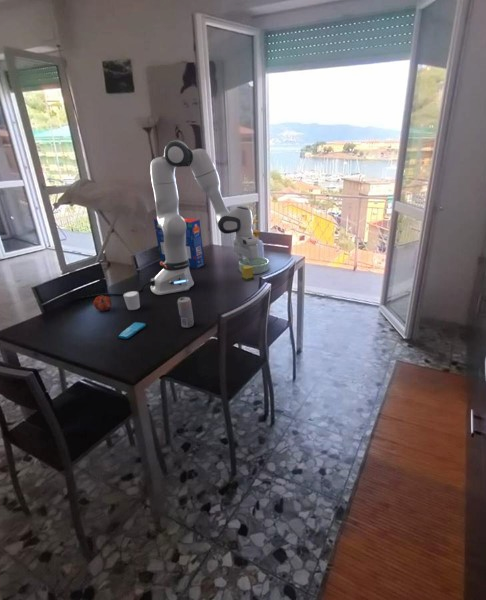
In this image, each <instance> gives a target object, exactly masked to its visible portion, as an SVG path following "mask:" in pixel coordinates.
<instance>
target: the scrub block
mask: <svg viewBox="0 0 486 600" xmlns="http://www.w3.org/2000/svg"><path fill="white" fill-rule="evenodd" d="M241 275H242V276H241V278H242V280H244V281H245V282H248V281H252V280H254V274H253V267H251V266H248V265H247V266H243V267H242V272H241Z"/></svg>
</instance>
